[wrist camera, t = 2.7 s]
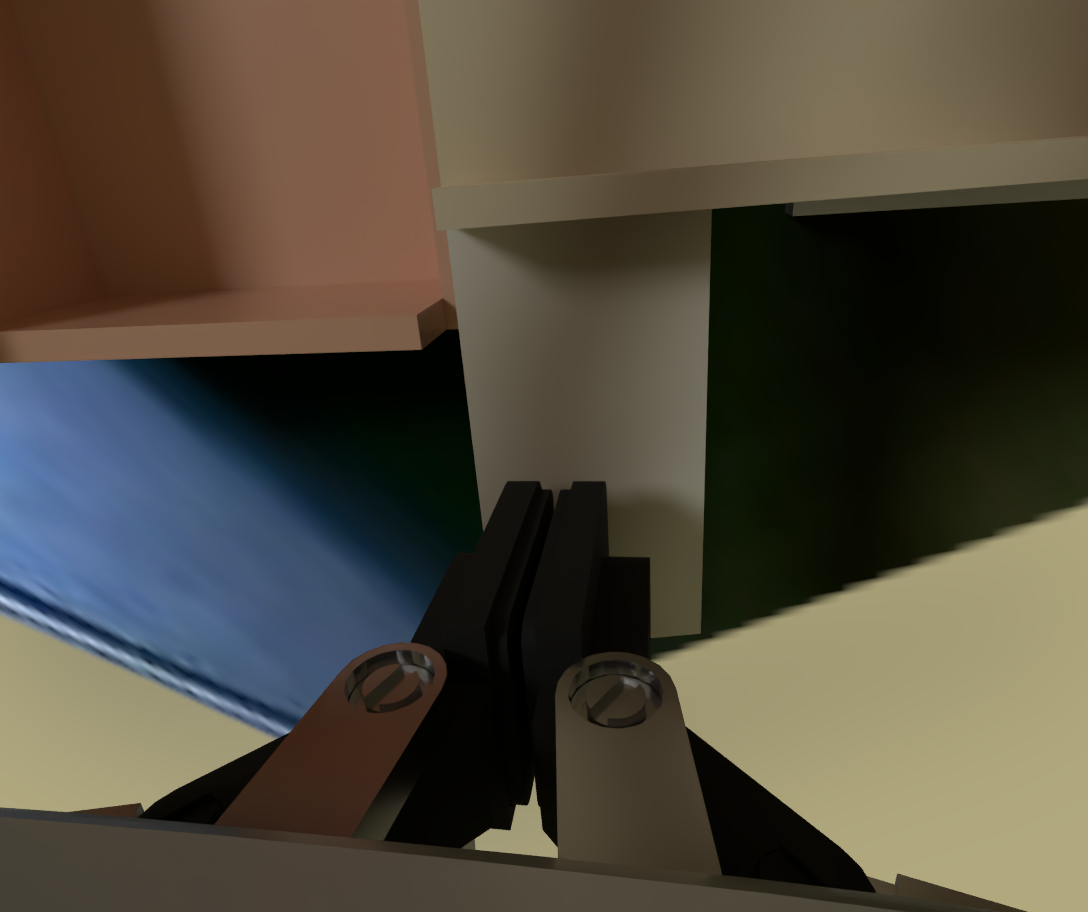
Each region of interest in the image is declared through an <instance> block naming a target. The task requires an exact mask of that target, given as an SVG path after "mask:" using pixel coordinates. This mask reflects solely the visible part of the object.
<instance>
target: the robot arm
mask: <svg viewBox="0 0 1088 912" xmlns="http://www.w3.org/2000/svg"><path fill="white" fill-rule="evenodd" d="M650 659H651V587H650V557H614V556H609V538H608V512H607V488H606V482H605V481H573V483H572V486H571V489H561V490H560V493H559V496H558V500H557V503H556V507H555V510H554V499H553V492H552V489H542V487H541V483H540V481H507V483H506V484H505V486H504V489H503V491H502V493H501V495H500V497H499V499H498V502H497V504H496V506H495V508H494V510H493V512H492V515H491V517H490V519H489V521H488V523H487V525H486V528H485V530H484V532H483V534H482V536H481V538H480V540H479V543H478V545H477V547H476V549H475V551H474V553H473V554H470V553H459V554H456V555H455V557H454V558H453V560H452V562H451V563H450V565H449V567H448V569H447V571H446V573H445V575H444V577H443V579H442V581H441V583H440V585H439V587H438V589H437V591H436V593H435V595H434V597H433V599H432V601H431V603H430V605H429V607H428V609H427V611H426V613H425V615H424V617H423V619H422V621H421V623H420V625H419V627H418V629H417V631H416V632H415V634H414V636H413V638H412V640H411V642H410V643H395V644H389V645H383V646H380V647H378V648H375V649H372V650H369V651H367V652H365V653H364V654H362V655H360V656H359V657H357V658H355V659H354V660H352V661H351V662H350V663H349V664H348V665H347V666H346V667H345V668H344V669H343V670H342V671H341V672H340V673H339V674H338V675H337V676H336V678H335V679H334V680H333V681H332V682H331V684H330V685H329V686H328V687H327V689H326V690H325V691H324V692H323V693H322V695H321V696H320V697H319V698H318V699H317V701H316V702H315V703H314V704H313V705H312V707H311V708H310V709H309V710H308V712H307V713H306V714H305V715H304V716H303V718H302V719H301V720H300V721H299V722H298V724H297V725H296V726H295V727H294V728H293V730H292V731H291V732H290V733H288V734H286V735H284V736H282V737H280V738H278V739H276V740H274V741H272V742H270V743H268V744H266V745H264V746H262V747H260V748H258V749H256V750H254V751H252V752H250V753H248V754H246V755H244V756H242V757H240V758H238V759H236V760H234V761H232V762H230V763H228V764H226V765H224V766H222V767H220V768H218V769H216V770H214V771H212V772H210V773H208V774H206V775H204V776H202V777H200V778H198V779H196V780H194V781H192V782H190V783H188V784H186V785H184V786H182V787H180V788H178V789H176V790H174V791H173V792H171V793H170V794H168V795H166V796H165V797H163V798H161V799H160V800H158V801H157V802H155V803H154V804H153V805H152V806H150V807H149V808H148V809H147V810H146V811H145V812H144V810H143V808H142V805H141V803H137V804H129V805H121V806H113V807H105V808H98V809H90V810H81V811H74V812H57V811H42V810H29V809H15V808H0V912H1026V911H1023V910H1019V909H1016V908H1013V907H1009V906H1006V905H1003V904H999V903H995V902H992V901H989V900H985V899H982V898H978V897H975V896H972V895H969V894H965V893H962V892H958V891H955V890H951V889H948V888H945V887H941V886H938V885H935V884H931V883H928V882H924V881H921V880H917V879H914V878H910V877H907V876H904V875H901V874H897V877H896V882H895V885H894V884H891V883H888V882H884V881H881V880H878V879H874V878H871V877H868V876H866V874H865V873H864V871H863V870H862V868H861V867H860V866H859V865H858V864H857V863H856V862H855V861H854V860H853V859H852V858H851V857H850V856H849V855H848V854H847V853H846V852H845V851H844V850H843V849H841V848H840V847H839V846H838V845H837V844H835V843H834V842H833V841H832V840H830V839H829V838H828V837H826V836H825V835H824V834H823V833H821V832H820V831H819V830H817V829H816V828H815V827H814V826H812V825H811V824H810V823H808V822H807V821H806V820H805V819H803V818H802V817H801V816H799V815H798V814H797V813H796V812H794V811H793V810H792V809H791V808H789V807H788V806H787V805H786V804H784V803H783V802H782V801H780V800H779V799H778V798H777V797H775V796H774V795H772V794H771V793H770V792H769V791H768V790H766V789H765V788H764V787H763V786H761V785H760V784H759V783H757V782H756V781H755V780H754V779H752V778H751V777H750V776H748V775H747V774H746V773H745V772H743V771H742V770H741V769H739V768H738V767H737V766H736V765H734V764H733V763H732V762H731V761H729V760H728V759H727V758H725V757H724V756H723V755H722V754H720V753H719V752H718V751H716V750H715V749H714V748H713V747H711V746H710V745H709V744H708V743H706V742H705V741H704V740H702V739H701V738H700V737H698V736H697V735H696V734H695V733H694V732H692V731H691V730H690V729H688V728H687V727H686V726H685V723H684V719H683V715H682V711H681V707H680V703H679V699H678V694H677V690H676V687H675V685H674V683H673V681H672V679H671V677H670V676H669V674H668V673H667V672H665V670H664V669H663V668H662V667H661V666H660V665H658V664H656V663H654V662H653V661H651V660H650ZM534 776H535V782H536V792H537V801H538V805H539V807H540V809H541V818H542V828H543V831H544V832H545V833H546V834H547V835H548V837H549V838H550V839H551V840H552V841H553V842H554V844H555V845H556V846H557V847H558V858H551V857H540V856H532V855H522V854H512V853H511V854H510V853H501V852H491V851H480V850H475V840H474V839H475V838H477V837H478V836H480V835H481V834H483V833H484V832H485V831H487V830H489V829H490V828H492V829H502V830H511V825H512V821H513V816H514V811H515V807H516V805H528V803H529V800H530V796H531V791H532V786H533V781H534Z"/></svg>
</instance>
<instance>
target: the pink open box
mask: <svg viewBox="0 0 1088 912" xmlns="http://www.w3.org/2000/svg"><path fill="white" fill-rule="evenodd" d="M438 187H441V182H440V174H439V166H438V158H437V149H436V141H435V133H434V125H433V117H432V109H431V101H430V93H429V84H428V76H427V68H426V60H425V52H424V44H423V36H422V28H421V19H420V11H419V3H418V0H0V363H15V362H46V361H78V360H110V359H142V358H174V357H206V356H237V355H269V354H301V353H333V352H365V351H396V350H422V349H423V348H424V347H426V346H427V345H428V344H429V343H431V342H432V341H433V340H434V339H435V338H437V337H438V336H439V335H440V334H442V333H443V332H444V331H445V330H446V329H459V328H458V320H457V312H456V304H455V296H454V288H453V279H452V271H451V263H450V255H449V247H448V239H447V231H446V230H440V231H437V229H436V221H435V213H434V205H433V197H432V190H431V189H434V188H438Z"/></svg>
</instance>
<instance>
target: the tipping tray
mask: <svg viewBox="0 0 1088 912" xmlns="http://www.w3.org/2000/svg"><path fill="white" fill-rule="evenodd" d="M418 3H419V11H420V19H421V28H422V36H423V44H424V52H425V60H426V68H427V76H428V84H429V93H430V101H431V109H432V117H433V125H434V133H435V141H436V149H437V158H438V166H439V174H440V182H441V187H438V188H434V189H431V190H432V197H433V205H434V213H435V221H436V229H437V231H440V230H446V231H447V239H448V247H449V255H450V263H451V271H452V279H453V288H454V296H455V304H456V312H457V320H458V328H459V336H460V344H461V353H462V361H463V369H464V377H465V385H466V393H467V401H468V409H469V418H470V426H471V434H472V442H473V450H474V458H475V466H476V474H477V483H478V491H479V499H480V507H481V515H482V523H483V531H484V530H485V528H486V525H487V523H488V521H489V519H490V517H491V515H492V512H493V510H494V508H495V506H496V504H497V502H498V499H499V497H500V495H501V493H502V491H503V489H504V486H505V484H506V483H507V481H540V483H541V487H542V489H552V492H553V499H554V510H555V507H556V503H557V500H558V496H559V493H560V490H561V489H571V486H572V483H573V481H605V482H606V488H607V512H608V538H609V556H614V557H650V587H651V638H657V637H668V636H678V635H689V634H700V633H701V597H702V559H703V520H704V482H705V444H706V405H707V367H708V329H709V290H710V252H711V214H712V209H715V208H728V207H740V206H753V205H766V204H778V203H791V202H803V201H816V200H828V199H841V198H853V197H866V196H878V195H891V194H903V193H916V192H928V191H941V190H953V189H966V188H979V187H991V186H1004V185H1016V184H1029V183H1041V182H1054V181H1066V180H1079V179H1088V0H418Z"/></svg>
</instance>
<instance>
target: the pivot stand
mask: <svg viewBox="0 0 1088 912" xmlns="http://www.w3.org/2000/svg"><path fill="white" fill-rule="evenodd" d="M1083 198H1088V179H1079V180H1066V181H1054V182H1041V183H1029V184H1016V185H1004V186H991V187H979V188H966V189H953V190H941V191H928V192H916V193H903V194H891V195H878V196H866V197H853V198H841V199H828V200H816V201H803V202H791V203H785V213H787V214H789V215H791V216H804V215H821V214H837V213H853V212H870V211H886V210H903V209H919V208H936V207H952V206H968V205H985V204H1001V203H1018V202H1034V201H1051V200H1067V199H1083Z"/></svg>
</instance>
